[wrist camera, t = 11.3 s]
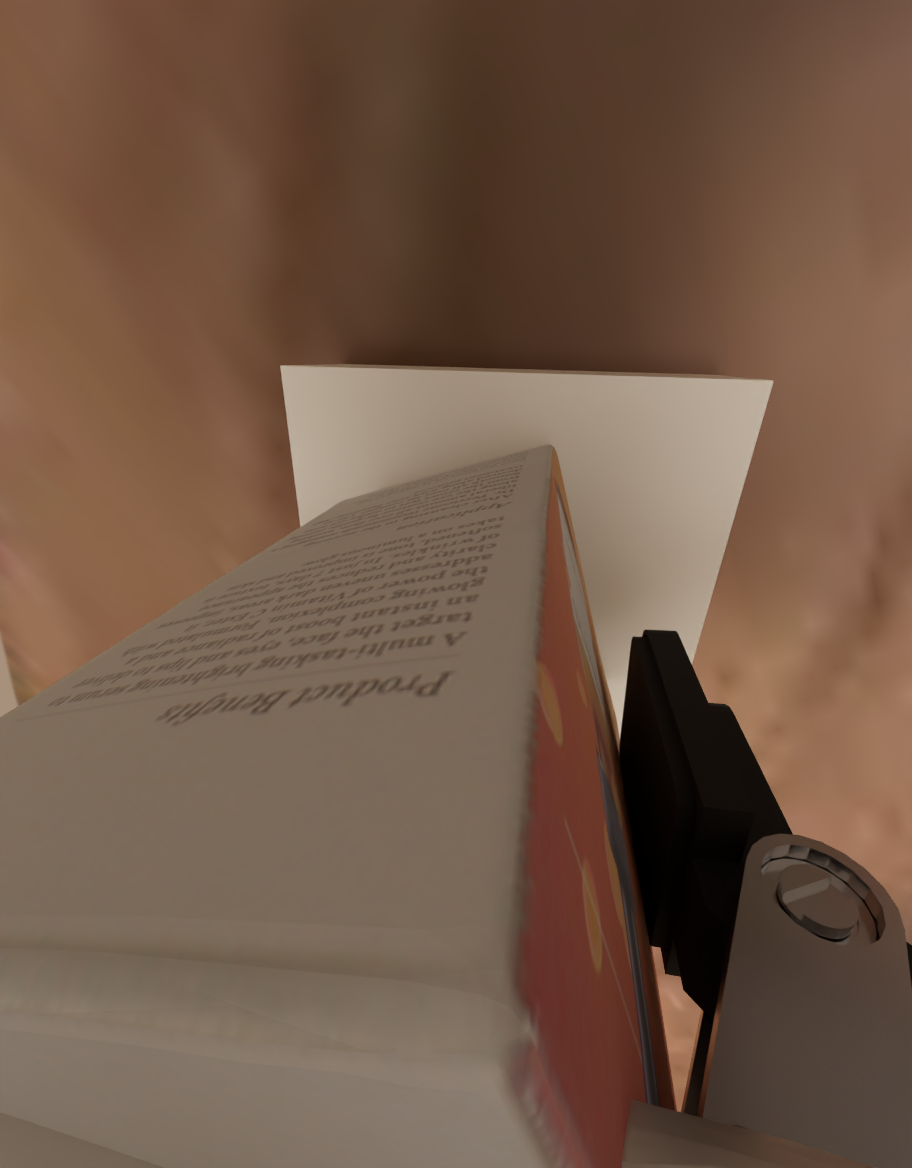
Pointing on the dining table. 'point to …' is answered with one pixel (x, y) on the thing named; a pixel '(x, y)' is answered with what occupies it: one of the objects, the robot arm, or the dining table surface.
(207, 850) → the small box
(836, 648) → the dining table surface
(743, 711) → the dining table surface
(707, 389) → the cream white block
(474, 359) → the dining table surface
